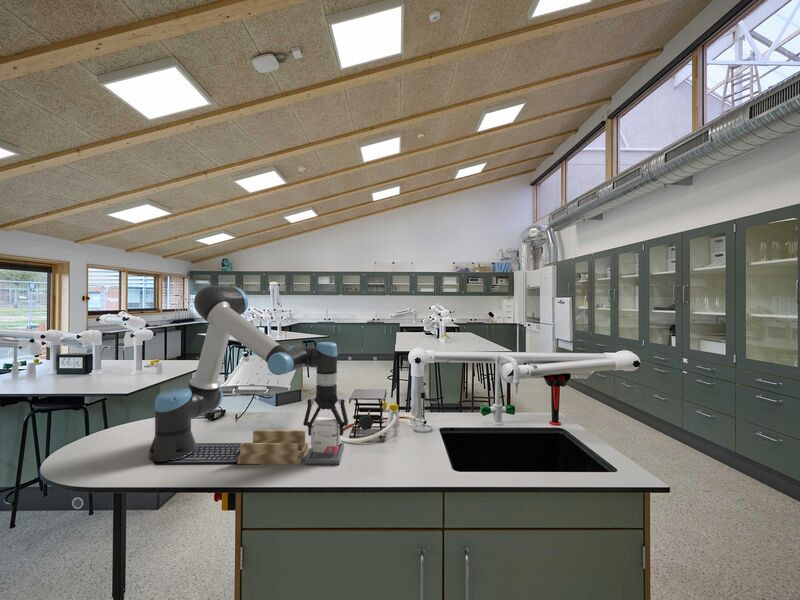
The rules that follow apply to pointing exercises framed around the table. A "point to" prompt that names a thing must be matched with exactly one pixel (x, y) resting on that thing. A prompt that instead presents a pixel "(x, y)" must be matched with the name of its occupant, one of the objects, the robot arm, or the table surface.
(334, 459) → the tray
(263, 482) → the table surface
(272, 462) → the rack
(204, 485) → the table surface
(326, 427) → the ink box
